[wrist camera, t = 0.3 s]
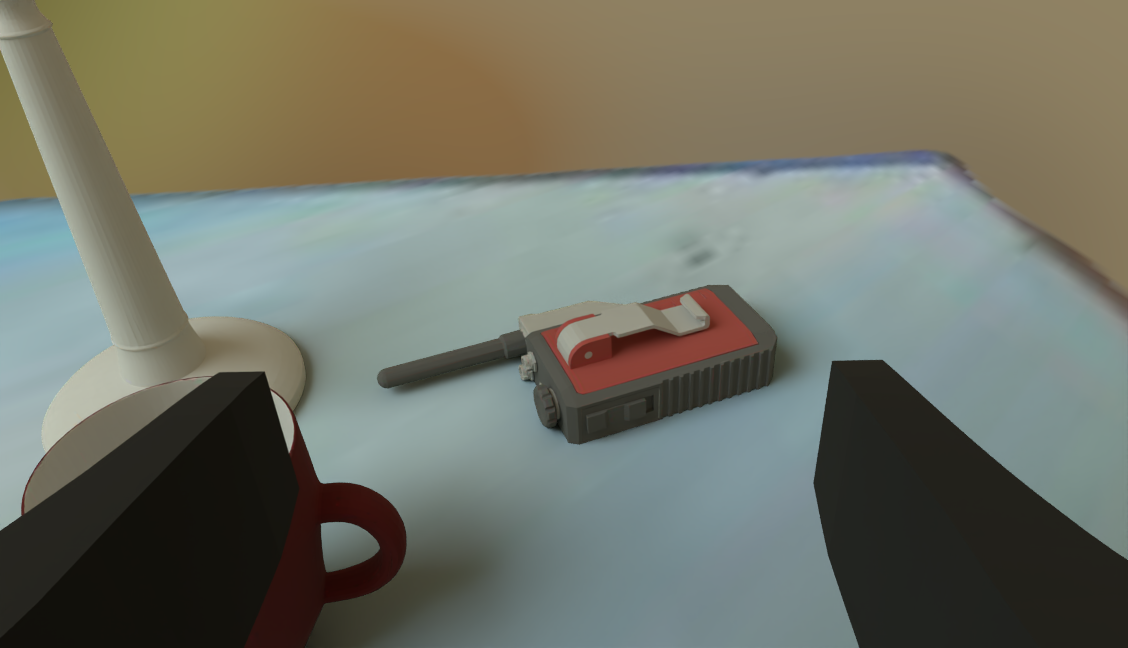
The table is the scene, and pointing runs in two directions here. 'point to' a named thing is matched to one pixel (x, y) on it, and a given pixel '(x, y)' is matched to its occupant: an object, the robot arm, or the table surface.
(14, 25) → the candlestick
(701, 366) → the walkie-talkie
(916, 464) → the robot arm
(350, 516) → the mug
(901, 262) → the table surface
